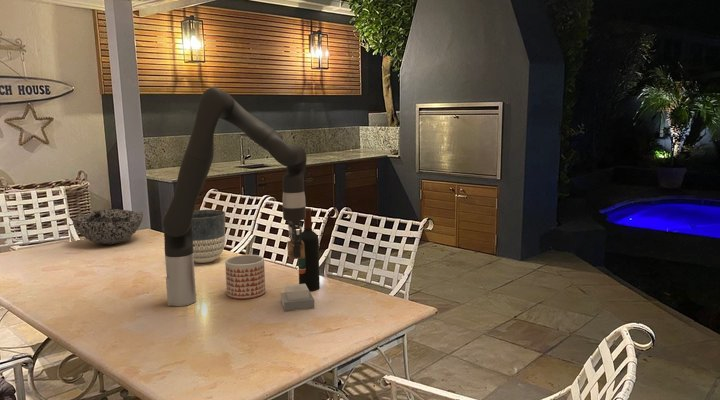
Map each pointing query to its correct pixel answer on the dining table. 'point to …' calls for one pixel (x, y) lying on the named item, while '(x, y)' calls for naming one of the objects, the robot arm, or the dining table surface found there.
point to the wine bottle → (309, 256)
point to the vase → (245, 276)
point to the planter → (208, 235)
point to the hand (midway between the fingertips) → (295, 254)
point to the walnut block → (291, 251)
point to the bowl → (108, 225)
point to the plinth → (297, 303)
